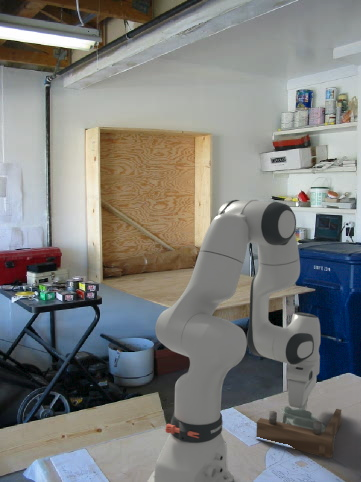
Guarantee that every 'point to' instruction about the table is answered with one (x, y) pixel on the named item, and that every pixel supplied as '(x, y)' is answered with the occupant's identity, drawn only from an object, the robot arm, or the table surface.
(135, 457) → the table surface
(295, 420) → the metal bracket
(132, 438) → the table surface
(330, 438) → the bench stop
